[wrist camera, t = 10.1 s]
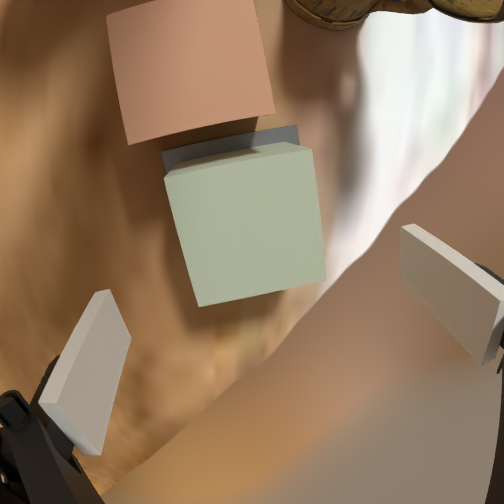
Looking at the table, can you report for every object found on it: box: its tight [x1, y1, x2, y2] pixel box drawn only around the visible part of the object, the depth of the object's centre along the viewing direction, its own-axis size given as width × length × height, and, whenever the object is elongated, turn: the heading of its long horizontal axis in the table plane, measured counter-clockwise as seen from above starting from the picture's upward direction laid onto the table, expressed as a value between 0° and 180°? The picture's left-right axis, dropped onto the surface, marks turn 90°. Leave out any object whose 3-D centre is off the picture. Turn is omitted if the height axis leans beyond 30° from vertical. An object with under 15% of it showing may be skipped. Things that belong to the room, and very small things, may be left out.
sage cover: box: [164, 142, 326, 307], centre depth 27 cm, size 10×10×9 cm
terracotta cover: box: [106, 0, 276, 145], centre depth 22 cm, size 10×10×9 cm
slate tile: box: [161, 125, 300, 175], centre depth 31 cm, size 13×13×1 cm
